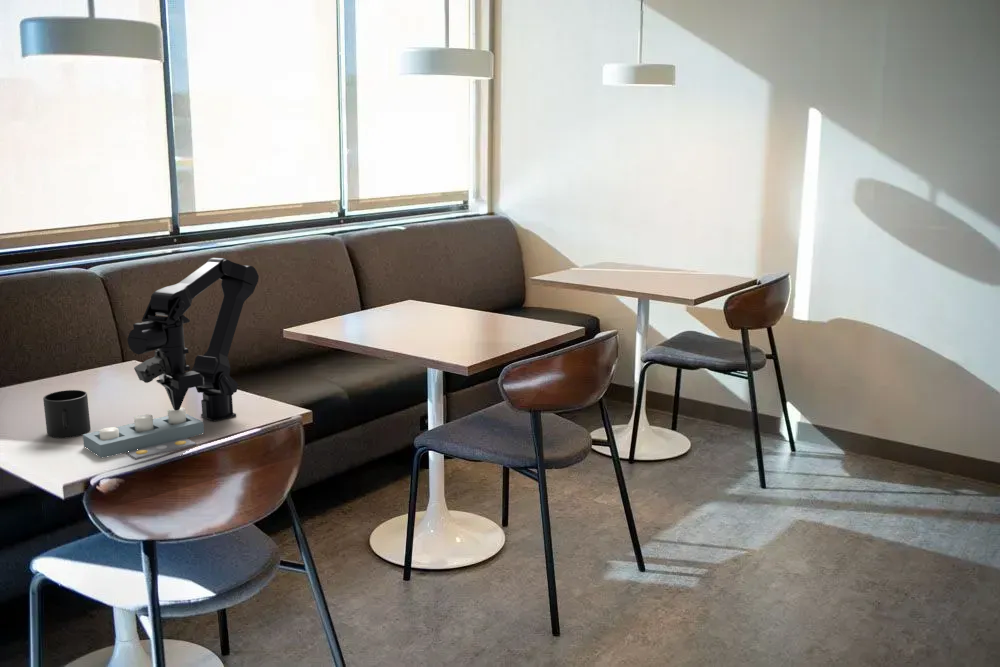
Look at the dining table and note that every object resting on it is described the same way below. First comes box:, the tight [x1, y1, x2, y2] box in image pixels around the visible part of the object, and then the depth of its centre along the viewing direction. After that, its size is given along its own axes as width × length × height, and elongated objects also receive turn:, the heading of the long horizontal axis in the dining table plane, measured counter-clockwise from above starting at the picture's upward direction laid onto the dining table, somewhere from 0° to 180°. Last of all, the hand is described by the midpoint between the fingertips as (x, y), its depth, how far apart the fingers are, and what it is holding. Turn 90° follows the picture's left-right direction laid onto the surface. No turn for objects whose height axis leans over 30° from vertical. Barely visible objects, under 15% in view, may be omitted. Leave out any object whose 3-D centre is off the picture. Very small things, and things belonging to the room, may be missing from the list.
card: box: [125, 438, 197, 461], centre depth 218 cm, size 14×5×1 cm, turn 133°
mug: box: [42, 389, 91, 439], centre depth 228 cm, size 9×12×9 cm
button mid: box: [133, 413, 154, 433], centre depth 223 cm, size 4×4×4 cm
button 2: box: [167, 406, 187, 425], centre depth 229 cm, size 4×4×4 cm
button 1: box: [98, 426, 119, 441], centre depth 218 cm, size 4×4×4 cm
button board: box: [82, 413, 205, 459], centre depth 224 cm, size 24×10×3 cm, turn 133°
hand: (176, 409), depth 228 cm, fingers closed
